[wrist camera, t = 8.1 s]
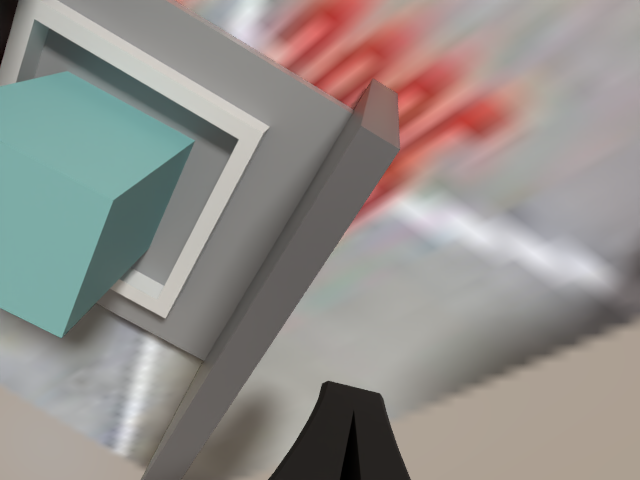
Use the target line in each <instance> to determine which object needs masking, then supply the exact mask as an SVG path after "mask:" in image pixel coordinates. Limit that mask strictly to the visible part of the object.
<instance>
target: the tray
mask: <svg viewBox="0 0 640 480" xmlns="http://www.w3.org/2000/svg"><path fill="white" fill-rule="evenodd" d="M66 71H68V72H70V73H72V74H74V75H75V76H77V77H79V78H81V79H83V80H85V81H86V82H88V83H90V84H92V85H94V86H96V87H97V88H99V89H101V90H103V91H105V92H107V93H108V94H110V95H112V96H114V97H116V98H118V99H119V100H121V101H123V102H125V103H127V104H129V105H130V106H132V107H134V108H136V109H138V110H140V111H142V112H143V113H145V114H147V115H149V116H151V117H153V118H154V119H156V120H158V121H160V122H162V123H164V124H165V125H167V126H169V127H171V128H173V129H175V130H176V131H178V132H180V133H182V134H184V135H186V136H187V137H189V138H191V139H193V140H195V142H194V145H193V147H192V149H191V152H190V154H189V156H188V159H187V161H186V163H185V166H184V168H183V170H182V173H181V175H180V177H179V180H178V182H177V184H176V187H175V189H174V191H173V194H172V196H171V198H170V201H169V203H168V205H167V208H166V210H165V212H164V215H163V217H162V219H161V221H160V224H159V226H158V228H157V231H156V233H155V235H154V238H153V240H152V242H151V245H150V247H149V249H148V250H147V251H146V252H145V253H144V254H143V255H142V256H141V257H140V258H139V259H138V260H137V261H136V262H135V263H134V264H133V265H132V266H131V267H130V268H129V269H128V270H127V271H126V272H125V273H124V274H123V276H122V277H121V278H120V279H119V280H118V281H117V282H116V283H115V284H114V285H113V286H112V287H111V288H110V289H109V290H108V291H107V292H106V293H105V294H104V295H103V296H102V297H101V298H100V299H99V300H98V301H97V302H96V304H98V305H100V306H102V307H104V308H105V309H107V310H109V311H111V312H113V313H115V314H117V315H119V316H120V317H122V318H124V319H126V320H128V321H130V322H132V323H134V324H135V325H137V326H139V327H141V328H143V329H145V330H147V331H149V332H150V333H152V334H154V335H156V336H158V337H160V338H162V339H164V340H165V341H167V342H169V343H171V344H173V345H175V346H177V347H179V348H180V349H182V350H184V351H186V352H188V353H190V354H192V355H194V356H195V357H197V358H199V359H201V360H203V363H202V364H201V366H200V368H199V369H198V371H197V373H196V375H195V377H194V379H193V381H192V383H191V385H190V387H189V389H188V390H187V392H186V394H185V396H184V398H183V400H182V402H181V404H180V406H179V408H178V410H177V412H176V413H175V415H174V417H173V419H172V421H171V423H170V425H169V427H168V429H167V431H166V433H165V434H164V436H163V438H162V440H161V442H160V444H159V446H158V448H157V450H156V452H155V454H154V456H153V457H152V459H151V461H150V463H149V465H148V467H147V469H146V471H145V473H144V475H143V477H142V478H141V480H181V479H182V477H183V476H184V474H185V473H186V471H187V470H188V468H189V467H190V465H191V464H192V462H193V461H194V459H195V458H196V456H197V455H198V453H199V452H200V450H201V449H202V447H203V446H204V444H205V443H206V441H207V440H208V438H209V437H210V435H211V434H212V432H213V431H214V429H215V428H216V426H217V425H218V423H219V422H220V420H221V419H222V417H223V416H224V414H225V413H226V411H227V410H228V408H229V407H230V405H231V404H232V402H233V400H234V399H235V397H236V396H237V394H238V393H239V391H240V390H241V388H242V387H243V385H244V384H245V382H246V381H247V379H248V378H249V376H250V375H251V373H252V372H253V370H254V369H255V367H256V366H257V364H258V363H259V361H260V360H261V358H262V357H263V355H264V354H265V352H266V351H267V349H268V348H269V346H270V345H271V343H272V342H273V340H274V339H275V337H276V336H277V334H278V333H279V331H280V330H281V328H282V327H283V325H284V324H285V322H286V321H287V319H288V318H289V316H290V315H291V313H292V312H293V310H294V308H295V307H296V305H297V304H298V302H299V301H300V299H301V298H302V296H303V295H304V293H305V292H306V290H307V289H308V287H309V286H310V284H311V283H312V281H313V280H314V278H315V277H316V275H317V274H318V272H319V271H320V269H321V268H322V266H323V265H324V263H325V262H326V260H327V259H328V257H329V256H330V254H331V253H332V251H333V250H334V248H335V247H336V245H337V244H338V242H339V241H340V239H341V238H342V236H343V235H344V233H345V232H346V230H347V229H348V227H349V226H350V224H351V223H352V221H353V220H354V218H355V216H356V215H357V213H358V212H359V210H360V209H361V207H362V206H363V204H364V203H365V201H366V200H367V198H368V197H369V195H370V194H371V192H372V191H373V189H374V188H375V186H376V185H377V183H378V182H379V180H380V179H381V177H382V176H383V174H384V173H385V171H386V170H387V168H388V167H389V165H390V164H391V162H392V161H393V159H394V158H395V156H396V155H397V153H398V152H399V150H400V139H399V116H398V94H397V93H396V92H394V91H392V90H391V89H389V88H388V87H386V86H384V85H383V84H381V83H380V82H378V81H376V80H375V79H372V80H371V82H370V84H369V85H368V87H367V89H366V91H365V92H364V94H363V96H362V97H361V99H360V101H359V102H358V104H357V106H356V107H355V109H354V110H353V109H352V108H350V107H348V106H347V105H345V104H344V103H342V102H340V101H339V100H337V99H335V98H334V97H332V96H330V95H329V94H327V93H326V92H324V91H322V90H321V89H319V88H317V87H316V86H314V85H312V84H311V83H309V82H308V81H306V80H304V79H303V78H301V77H299V76H298V75H296V74H294V73H293V72H291V71H289V70H288V69H286V68H285V67H283V66H281V65H280V64H278V63H276V62H275V61H273V60H271V59H270V58H268V57H267V56H265V55H263V54H262V53H260V52H258V51H257V50H255V49H253V48H252V47H250V46H249V45H247V44H245V43H244V42H242V41H240V40H239V39H237V38H235V37H234V36H232V35H231V34H229V33H227V32H226V31H224V30H222V29H221V28H219V27H217V26H216V25H214V24H213V23H211V22H209V21H208V20H206V19H204V18H203V17H201V16H199V15H198V14H196V13H195V12H193V11H191V10H190V9H188V8H186V7H185V6H183V5H181V4H180V3H178V2H177V1H175V0H19V1H18V5H17V8H16V12H15V16H14V19H13V23H12V27H11V30H10V34H9V38H8V41H7V45H6V49H5V52H4V56H3V60H2V63H1V67H0V86H4V85H8V84H13V83H17V82H22V81H26V80H30V79H35V78H39V77H44V76H48V75H52V74H57V73H61V72H66Z"/></svg>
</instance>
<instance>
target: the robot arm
mask: <svg viewBox="0 0 640 480" xmlns="http://www.w3.org/2000/svg"><path fill="white" fill-rule="evenodd" d="M268 480H411V479H410V477H409V474H408V472H407V469H406V467H405V464H404V462H403V459H402V457H401V454H400V452H399V449H398V446H397V444H396V440H395V438H394V434H393V431H392V428H391V425H390V422H389V419H388V415H387V412H386V408H385V404H384V400H383V398H382V396H381V394H380V393H376V392H372V391H368V390H364V389H360V388H356V387H351V386H347V385H343V384H339V383H335V382H331V381H327V382H324V383H322V387H321V390H320V394H319V398H318V400H317V403H316V405H315V407H314V409H313V411H312V413H311V415H310V417H309V419H308V421H307V423H306V424H305V426H304V428H303V430H302V431H301V433H300V435H299V436H298V438H297V440H296V441H295V443H294V444H293V446H292V447H291V449H290V450H289V452H288V453H287V455H286V456H285V457H284V459H283V460H282V462H281V463H280V465H279V466H278V467H277V469H276V470H275V472H274V473H273V474H272V475H271V477H270V478H269V479H268Z"/></svg>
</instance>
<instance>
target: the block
mask: <svg viewBox="0 0 640 480" xmlns="http://www.w3.org/2000/svg"><path fill="white" fill-rule="evenodd" d="M194 142H195V140H193V139H191V138H189V137H187V136H186V135H184V134H182V133H180V132H178V131H176V130H175V129H173V128H171V127H169V126H167V125H165V124H164V123H162V122H160V121H158V120H156V119H154V118H153V117H151V116H149V115H147V114H145V113H143V112H142V111H140V110H138V109H136V108H134V107H132V106H130V105H129V104H127V103H125V102H123V101H121V100H119V99H118V98H116V97H114V96H112V95H110V94H108V93H107V92H105V91H103V90H101V89H99V88H97V87H96V86H94V85H92V84H90V83H88V82H86V81H85V80H83V79H81V78H79V77H77V76H75V75H74V74H72V73H70V72H68V71H66V72H61V73H57V74H52V75H48V76H44V77H39V78H35V79H30V80H26V81H22V82H17V83H13V84H8V85H4V86H0V308H1V309H3V310H5V311H7V312H9V313H11V314H13V315H15V316H17V317H19V318H21V319H24V320H26V321H28V322H30V323H32V324H34V325H36V326H38V327H40V328H42V329H44V330H46V331H48V332H50V333H52V334H54V335H56V336H58V337H60V338H62V337H63V336H64V335H65V334H66V333H67V332H68V331H69V330H70V329H71V328H72V327H73V326H74V325H75V324H76V323H77V322H78V321H79V320H80V319H81V318H82V317H83V316H84V315H85V314H86V313H87V312H88V311H89V309H90V308H91V307H92V306H93V305H94V304H95V303H96V302H97V301H98V300H99V299H100V298H101V297H102V296H103V295H104V294H105V293H106V292H107V291H108V290H109V289H110V288H111V287H112V286H113V285H114V284H115V283H116V282H117V281H118V280H119V279H120V278H121V277H122V276H123V274H124V273H125V272H126V271H127V270H128V269H129V268H130V267H131V266H132V265H133V264H134V263H135V262H136V261H137V260H138V259H139V258H140V257H141V256H142V255H143V254H144V253H145V252H146V251H147V250H148V249H149V247H150V245H151V242H152V240H153V238H154V235H155V233H156V231H157V228H158V226H159V224H160V221H161V219H162V217H163V215H164V212H165V210H166V208H167V205H168V203H169V201H170V198H171V196H172V194H173V191H174V189H175V187H176V184H177V182H178V180H179V177H180V175H181V173H182V170H183V168H184V166H185V163H186V161H187V159H188V156H189V154H190V152H191V149H192V147H193V145H194Z"/></svg>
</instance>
